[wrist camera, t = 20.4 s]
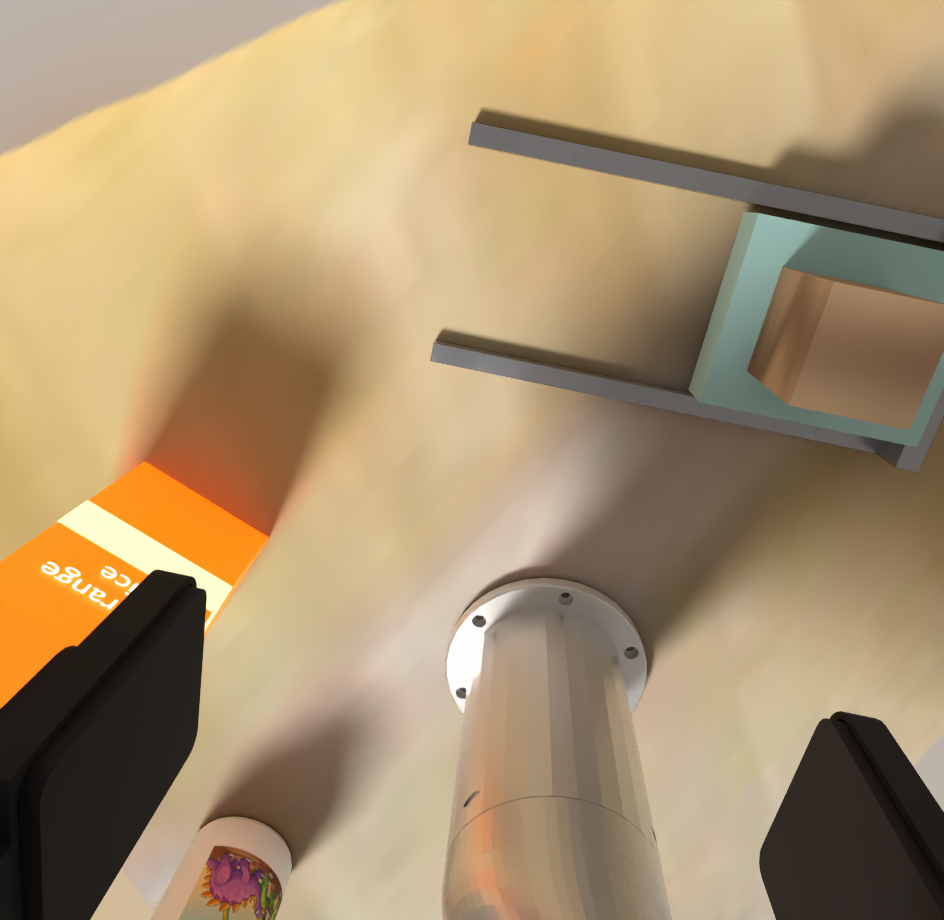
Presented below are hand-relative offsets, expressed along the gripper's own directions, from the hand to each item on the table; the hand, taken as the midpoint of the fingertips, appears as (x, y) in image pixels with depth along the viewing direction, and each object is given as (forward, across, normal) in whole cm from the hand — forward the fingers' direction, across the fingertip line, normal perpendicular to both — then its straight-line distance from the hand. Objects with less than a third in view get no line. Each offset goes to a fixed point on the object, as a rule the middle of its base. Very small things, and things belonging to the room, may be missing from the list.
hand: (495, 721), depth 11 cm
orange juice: (+31, +18, +17) cm, 39 cm away
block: (+26, -14, -4) cm, 30 cm away
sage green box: (+30, -15, -4) cm, 34 cm away
